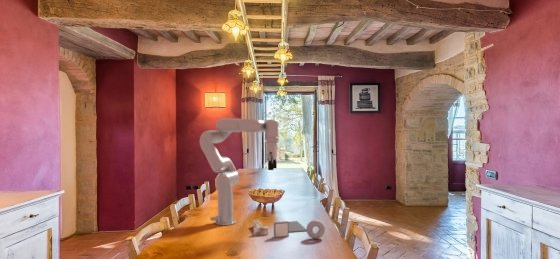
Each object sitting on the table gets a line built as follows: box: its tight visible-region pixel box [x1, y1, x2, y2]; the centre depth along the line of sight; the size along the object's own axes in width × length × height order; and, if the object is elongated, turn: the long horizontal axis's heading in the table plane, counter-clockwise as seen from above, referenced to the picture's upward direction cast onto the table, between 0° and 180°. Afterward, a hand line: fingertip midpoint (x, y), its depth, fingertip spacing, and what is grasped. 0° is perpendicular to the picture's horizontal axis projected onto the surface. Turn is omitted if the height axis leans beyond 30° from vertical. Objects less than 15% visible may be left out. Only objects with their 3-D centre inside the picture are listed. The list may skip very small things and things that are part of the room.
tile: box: [273, 220, 290, 238], centre depth 183 cm, size 8×2×8 cm, turn 104°
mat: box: [288, 220, 307, 233], centre depth 201 cm, size 12×20×1 cm, turn 14°
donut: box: [305, 219, 326, 240], centre depth 179 cm, size 10×4×10 cm, turn 91°
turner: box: [252, 219, 269, 236], centre depth 194 cm, size 8×17×4 cm, turn 14°
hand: (272, 169), depth 199 cm, fingers open, 9 cm apart
